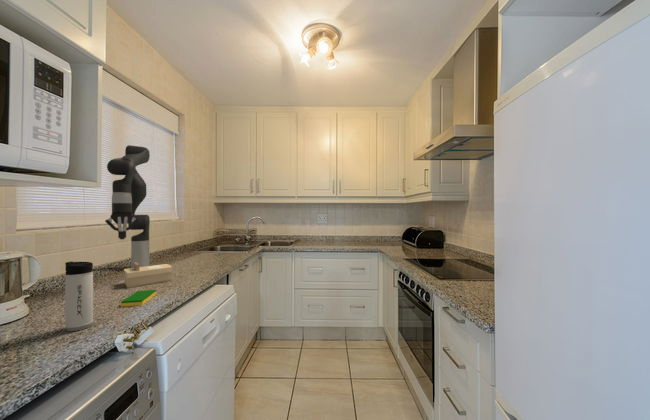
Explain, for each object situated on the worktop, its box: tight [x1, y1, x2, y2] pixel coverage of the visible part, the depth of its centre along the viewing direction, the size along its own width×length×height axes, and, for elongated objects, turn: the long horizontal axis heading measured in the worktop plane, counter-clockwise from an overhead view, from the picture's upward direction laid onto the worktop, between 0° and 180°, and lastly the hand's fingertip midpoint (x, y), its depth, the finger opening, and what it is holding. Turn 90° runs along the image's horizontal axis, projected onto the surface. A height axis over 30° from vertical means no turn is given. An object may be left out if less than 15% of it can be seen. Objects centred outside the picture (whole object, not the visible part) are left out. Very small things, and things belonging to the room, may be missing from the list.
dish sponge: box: [120, 289, 157, 308], centre depth 106 cm, size 7×14×2 cm, turn 13°
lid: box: [123, 262, 174, 278], centre depth 133 cm, size 12×19×5 cm, turn 133°
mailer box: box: [124, 272, 173, 289], centre depth 133 cm, size 10×18×6 cm, turn 133°
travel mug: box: [64, 261, 94, 332], centre depth 82 cm, size 6×7×20 cm
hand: (122, 239), depth 126 cm, fingers closed
